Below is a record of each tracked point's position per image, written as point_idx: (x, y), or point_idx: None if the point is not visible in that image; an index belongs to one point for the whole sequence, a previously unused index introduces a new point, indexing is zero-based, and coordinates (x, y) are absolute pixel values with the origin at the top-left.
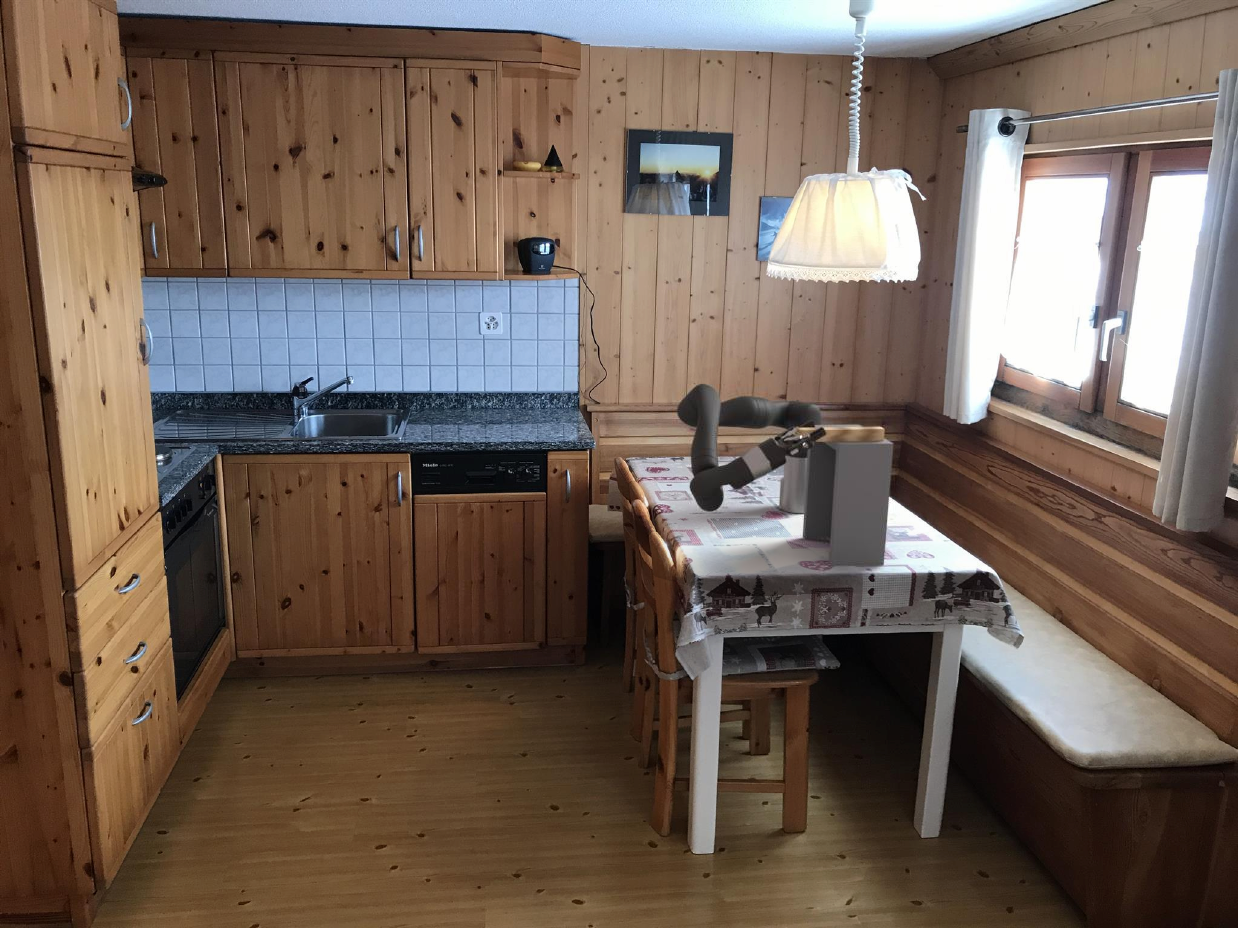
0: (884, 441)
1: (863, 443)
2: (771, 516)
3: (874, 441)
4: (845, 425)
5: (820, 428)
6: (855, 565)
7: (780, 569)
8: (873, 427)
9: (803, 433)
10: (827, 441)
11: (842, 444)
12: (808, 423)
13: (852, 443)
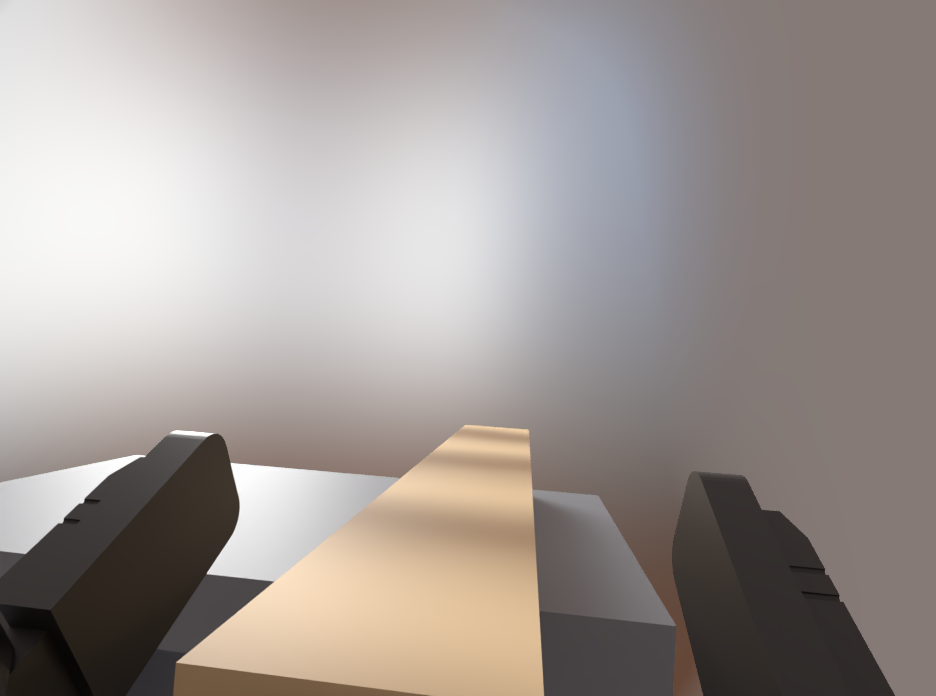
0: (548, 496)
1: (609, 541)
2: None
3: (545, 510)
4: (93, 469)
5: (754, 496)
6: None
7: None
8: (483, 430)
9: None
10: None
11: (668, 614)
12: (183, 480)
13: (617, 568)
